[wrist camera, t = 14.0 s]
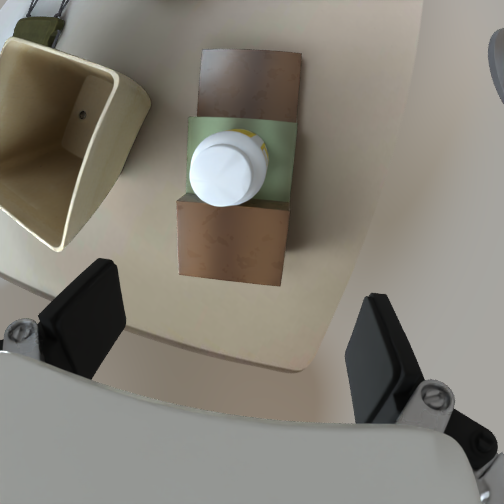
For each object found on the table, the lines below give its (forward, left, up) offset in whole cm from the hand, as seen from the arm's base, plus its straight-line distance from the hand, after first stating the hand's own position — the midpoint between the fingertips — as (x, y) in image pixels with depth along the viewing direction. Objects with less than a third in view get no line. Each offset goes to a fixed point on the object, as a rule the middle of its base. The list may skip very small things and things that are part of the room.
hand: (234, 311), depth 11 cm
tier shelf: (+3, -2, -30) cm, 30 cm away
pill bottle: (+3, -2, -24) cm, 25 cm away
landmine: (+40, -27, -30) cm, 57 cm away
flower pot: (+24, -6, -30) cm, 39 cm away
